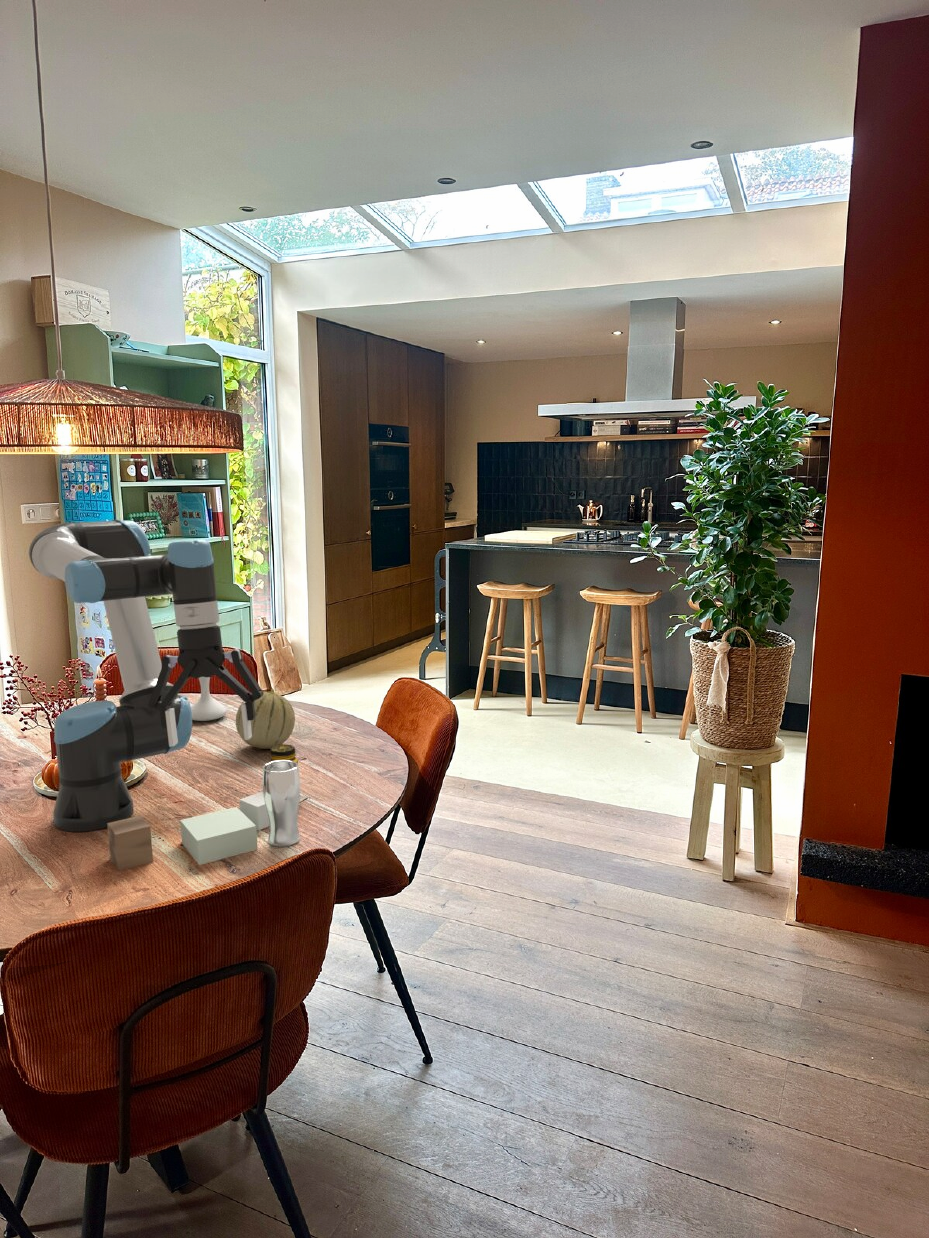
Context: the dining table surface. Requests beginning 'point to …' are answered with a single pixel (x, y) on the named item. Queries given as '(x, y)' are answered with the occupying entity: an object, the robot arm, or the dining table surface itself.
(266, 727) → the cantaloupe
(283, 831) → the beer glass
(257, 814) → the grey block
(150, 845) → the walnut block
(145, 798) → the dining table surface
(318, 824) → the dining table surface
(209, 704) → the flower in vase
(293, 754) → the condiment
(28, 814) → the dining table surface
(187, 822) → the pedestal block
